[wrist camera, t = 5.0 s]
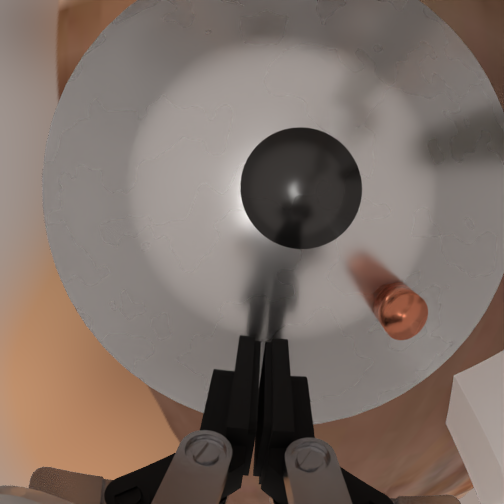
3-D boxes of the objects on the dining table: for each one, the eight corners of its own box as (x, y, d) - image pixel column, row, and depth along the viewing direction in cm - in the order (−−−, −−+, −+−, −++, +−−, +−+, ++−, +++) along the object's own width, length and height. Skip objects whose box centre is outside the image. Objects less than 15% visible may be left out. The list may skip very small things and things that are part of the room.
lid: (494, 27, 8) (527, 7, 5) (443, 405, 12) (466, 441, 9) (100, -22, 8) (71, -51, 5) (74, 372, 13) (43, 405, 10)
